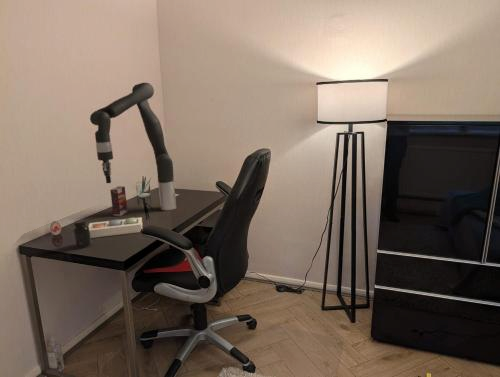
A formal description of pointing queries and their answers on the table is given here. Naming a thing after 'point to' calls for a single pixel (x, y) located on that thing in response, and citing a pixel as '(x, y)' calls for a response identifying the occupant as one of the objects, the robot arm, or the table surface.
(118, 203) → the supplement box
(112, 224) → the button slate
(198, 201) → the table surface
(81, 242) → the supplement bottle
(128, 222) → the button sage
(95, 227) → the button terracotta
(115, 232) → the button box
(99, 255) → the table surface
